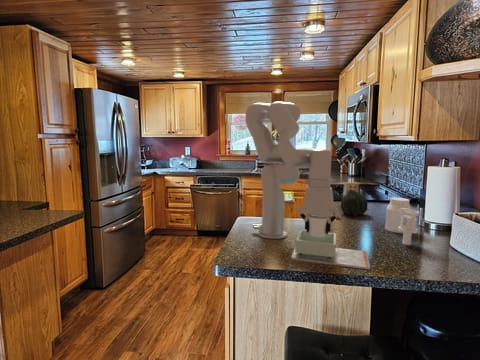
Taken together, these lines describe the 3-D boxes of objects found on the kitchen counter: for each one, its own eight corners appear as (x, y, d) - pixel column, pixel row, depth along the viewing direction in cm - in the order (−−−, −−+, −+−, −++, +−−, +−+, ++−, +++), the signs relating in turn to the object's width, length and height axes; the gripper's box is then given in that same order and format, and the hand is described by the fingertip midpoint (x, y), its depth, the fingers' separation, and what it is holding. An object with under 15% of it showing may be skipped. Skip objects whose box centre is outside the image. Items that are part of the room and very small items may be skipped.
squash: (377, 207, 175) (364, 185, 182) (357, 210, 169) (344, 187, 176) (361, 219, 186) (349, 198, 193) (342, 223, 179) (331, 200, 187)
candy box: (354, 204, 208) (355, 182, 206) (358, 206, 204) (359, 183, 202) (342, 205, 206) (343, 182, 205) (345, 206, 202) (347, 183, 200)
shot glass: (316, 238, 110) (317, 219, 109) (303, 233, 116) (304, 215, 116) (331, 236, 113) (331, 217, 113) (318, 231, 119) (318, 213, 119)
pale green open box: (294, 255, 112) (295, 240, 111) (299, 243, 124) (300, 229, 124) (334, 260, 108) (335, 244, 107) (335, 247, 120) (336, 233, 120)
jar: (389, 225, 159) (392, 196, 157) (410, 229, 153) (413, 198, 151) (383, 230, 150) (385, 199, 148) (405, 234, 144) (408, 202, 142)
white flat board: (290, 259, 111) (291, 257, 111) (296, 245, 126) (296, 243, 126) (370, 269, 103) (370, 267, 103) (366, 253, 118) (366, 251, 118)
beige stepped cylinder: (393, 241, 134) (396, 206, 132) (409, 241, 134) (412, 206, 132) (403, 246, 127) (406, 210, 125) (420, 246, 127) (423, 210, 125)
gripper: (293, 183, 112) (292, 232, 114) (344, 186, 107) (342, 237, 109) (296, 181, 119) (294, 227, 121) (344, 183, 114) (342, 231, 116)
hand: (317, 231), depth 115 cm, fingers closed on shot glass, 6 cm apart
